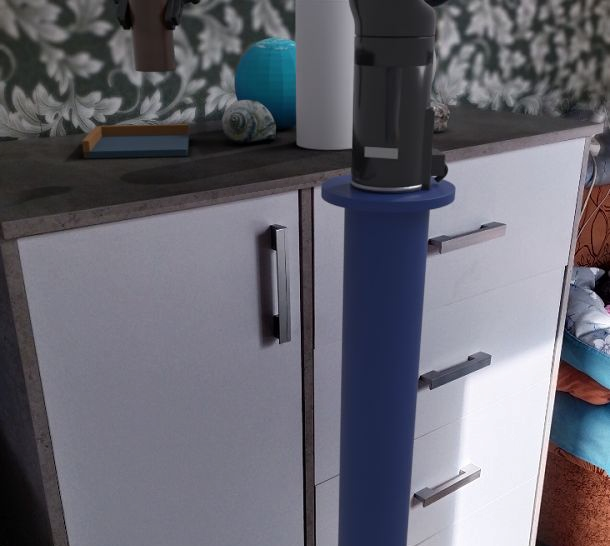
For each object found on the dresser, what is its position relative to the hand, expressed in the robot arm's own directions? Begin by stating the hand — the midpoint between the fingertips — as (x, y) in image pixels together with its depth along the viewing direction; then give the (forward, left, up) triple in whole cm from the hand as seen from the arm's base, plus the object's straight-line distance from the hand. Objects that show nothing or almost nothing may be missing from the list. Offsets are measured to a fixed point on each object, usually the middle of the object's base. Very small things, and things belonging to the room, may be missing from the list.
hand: (147, 24), depth 95 cm
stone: (-42, -30, -18) cm, 55 cm away
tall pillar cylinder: (-26, -19, -18) cm, 37 cm away
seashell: (-13, -23, -18) cm, 32 cm away
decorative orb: (-19, -36, -18) cm, 45 cm away
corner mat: (+4, -19, -18) cm, 27 cm away
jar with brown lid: (0, -2, -5) cm, 6 cm away
